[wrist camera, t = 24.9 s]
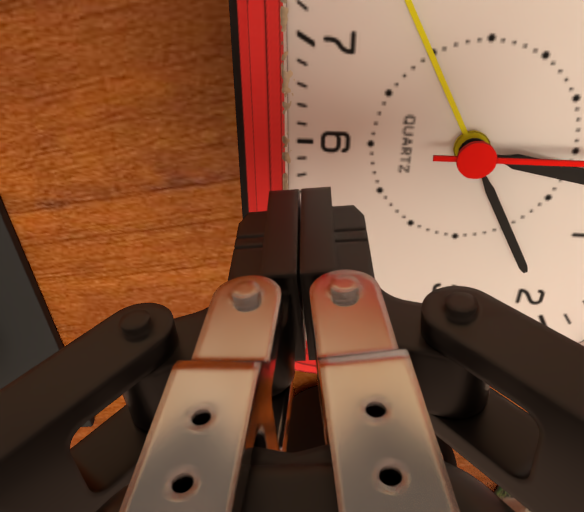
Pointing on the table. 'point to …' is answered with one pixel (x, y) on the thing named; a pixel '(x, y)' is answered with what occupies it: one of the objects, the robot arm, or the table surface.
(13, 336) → the rubber mat
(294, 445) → the mug
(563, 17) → the alarm clock
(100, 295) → the table surface
